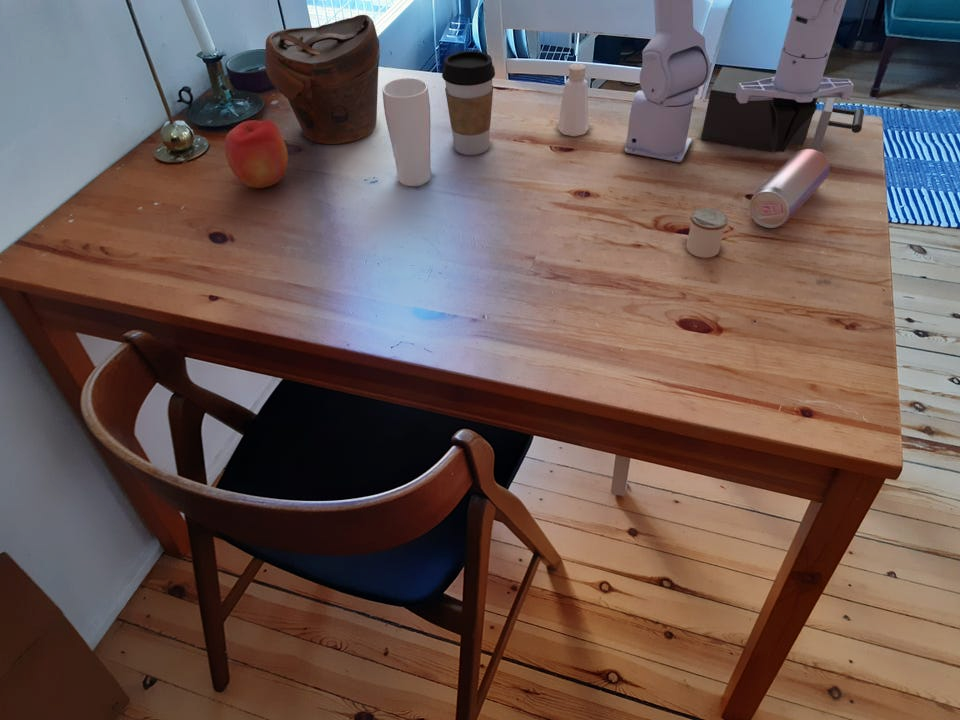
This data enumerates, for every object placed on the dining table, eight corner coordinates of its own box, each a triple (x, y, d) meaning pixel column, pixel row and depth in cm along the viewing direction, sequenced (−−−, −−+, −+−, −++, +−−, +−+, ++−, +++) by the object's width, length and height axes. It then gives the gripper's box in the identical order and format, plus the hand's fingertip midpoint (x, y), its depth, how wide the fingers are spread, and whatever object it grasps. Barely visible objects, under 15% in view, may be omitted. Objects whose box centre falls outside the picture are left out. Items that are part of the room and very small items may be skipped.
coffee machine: (780, 125, 122) (794, 76, 116) (772, 151, 116) (786, 101, 110) (712, 115, 126) (722, 66, 120) (700, 139, 120) (710, 89, 114)
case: (261, 136, 126) (233, 31, 113) (345, 96, 136) (329, -4, 123) (327, 167, 117) (305, 58, 104) (412, 122, 127) (401, 17, 115)
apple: (300, 167, 117) (287, 109, 110) (288, 199, 111) (273, 139, 103) (243, 168, 118) (226, 111, 111) (227, 200, 111) (208, 140, 104)
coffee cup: (438, 154, 119) (431, 64, 108) (458, 131, 125) (453, 44, 114) (485, 162, 117) (482, 71, 106) (503, 138, 122) (502, 50, 112)
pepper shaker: (590, 136, 122) (595, 72, 114) (558, 136, 122) (561, 73, 114) (587, 121, 126) (592, 58, 118) (556, 122, 126) (559, 59, 118)
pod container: (681, 254, 97) (687, 223, 94) (689, 235, 100) (695, 204, 97) (716, 262, 96) (724, 231, 92) (723, 242, 99) (731, 212, 95)
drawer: (855, 134, 118) (870, 94, 113) (851, 158, 112) (866, 117, 108) (759, 119, 123) (769, 80, 118) (751, 141, 117) (761, 101, 112)
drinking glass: (443, 173, 115) (436, 81, 104) (423, 194, 110) (414, 100, 100) (406, 165, 117) (396, 74, 106) (385, 185, 112) (372, 93, 102)
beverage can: (833, 183, 106) (792, 228, 98) (793, 186, 110) (751, 229, 103) (828, 145, 104) (786, 188, 96) (788, 149, 108) (743, 191, 100)
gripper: (757, 64, 87) (733, 164, 97) (876, 60, 87) (840, 160, 97) (741, 42, 92) (720, 139, 102) (854, 38, 92) (821, 136, 102)
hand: (777, 148), depth 100 cm, fingers closed
